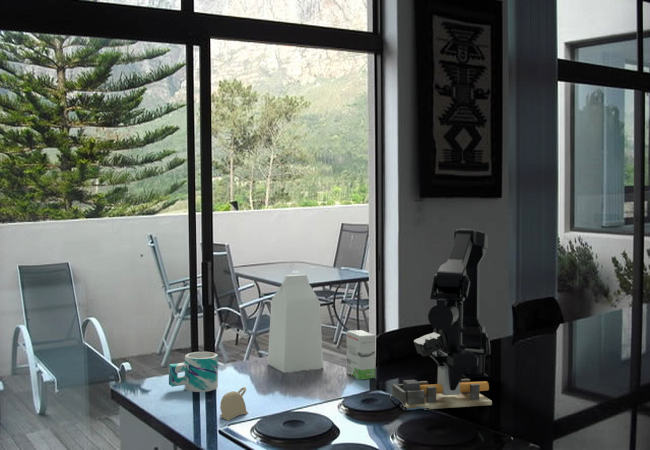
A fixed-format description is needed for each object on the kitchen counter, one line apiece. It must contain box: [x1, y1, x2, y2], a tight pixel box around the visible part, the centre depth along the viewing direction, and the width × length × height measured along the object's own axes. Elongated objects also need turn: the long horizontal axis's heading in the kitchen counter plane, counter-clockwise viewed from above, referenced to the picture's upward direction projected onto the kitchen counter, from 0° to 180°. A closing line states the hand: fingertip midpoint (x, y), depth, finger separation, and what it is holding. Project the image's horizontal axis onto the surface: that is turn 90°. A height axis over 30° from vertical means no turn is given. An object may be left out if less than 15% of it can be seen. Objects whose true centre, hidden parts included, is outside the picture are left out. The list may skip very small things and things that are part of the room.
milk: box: [267, 274, 324, 374], centre depth 208 cm, size 12×12×26 cm
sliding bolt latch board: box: [391, 378, 493, 410], centre depth 174 cm, size 22×9×4 cm, turn 105°
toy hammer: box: [402, 365, 490, 397], centre depth 175 cm, size 21×4×6 cm, turn 105°
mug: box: [168, 351, 219, 393], centre depth 184 cm, size 8×12×8 cm
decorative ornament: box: [219, 386, 249, 422], centre depth 163 cm, size 4×8×5 cm, turn 143°
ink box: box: [345, 329, 376, 380], centre depth 199 cm, size 9×5×12 cm, turn 25°
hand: (448, 387), depth 175 cm, fingers closed on toy hammer, 4 cm apart
